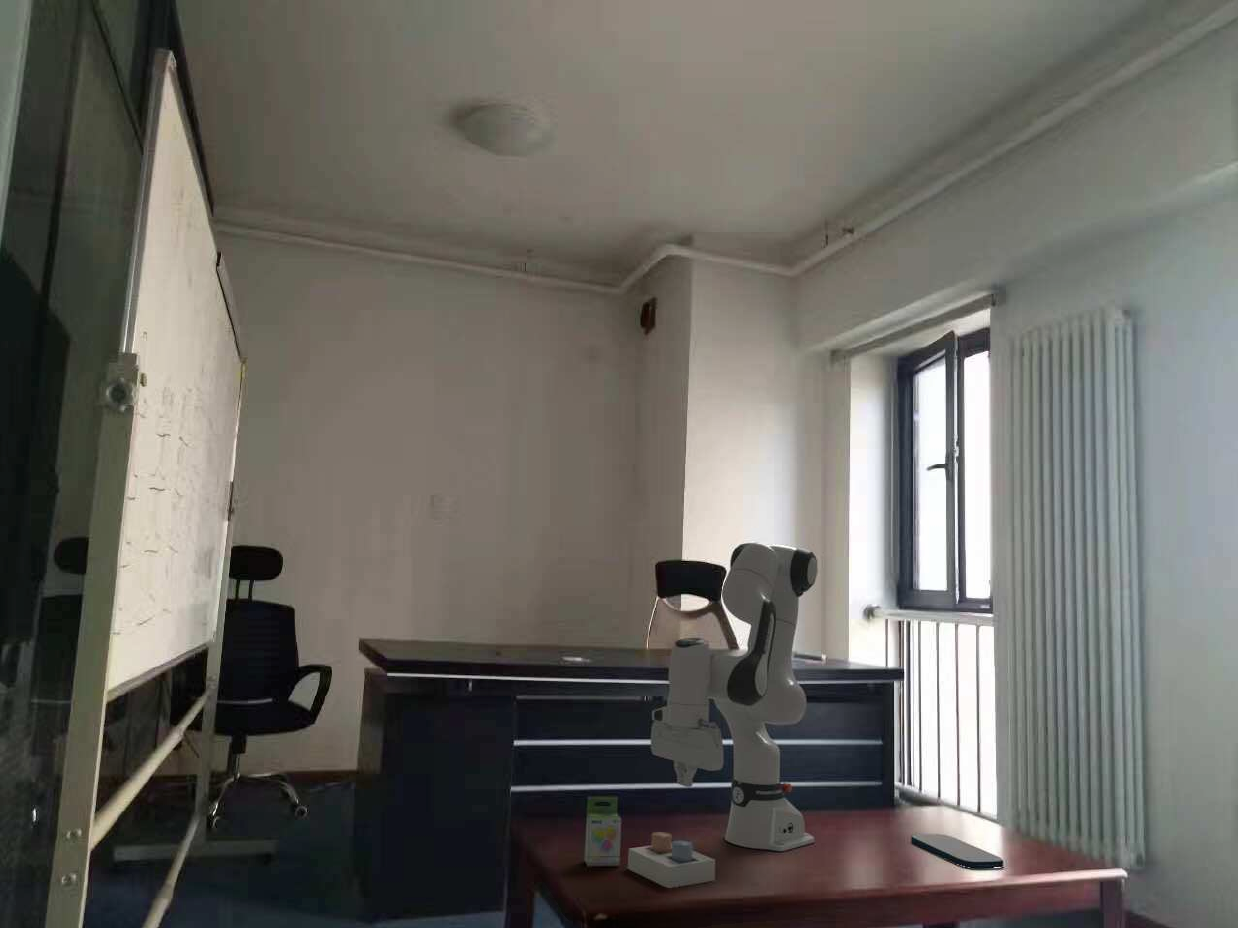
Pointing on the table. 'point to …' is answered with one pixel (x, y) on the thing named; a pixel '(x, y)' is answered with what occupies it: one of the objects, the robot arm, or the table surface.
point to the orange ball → (661, 843)
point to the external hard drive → (956, 851)
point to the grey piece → (682, 851)
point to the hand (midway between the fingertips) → (684, 785)
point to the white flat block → (670, 867)
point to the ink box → (602, 833)
